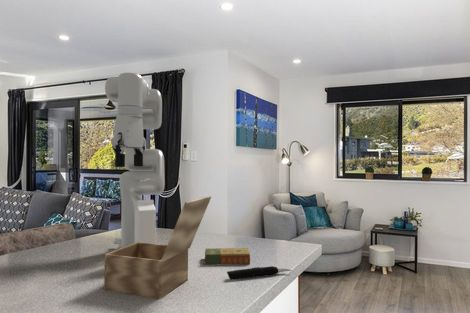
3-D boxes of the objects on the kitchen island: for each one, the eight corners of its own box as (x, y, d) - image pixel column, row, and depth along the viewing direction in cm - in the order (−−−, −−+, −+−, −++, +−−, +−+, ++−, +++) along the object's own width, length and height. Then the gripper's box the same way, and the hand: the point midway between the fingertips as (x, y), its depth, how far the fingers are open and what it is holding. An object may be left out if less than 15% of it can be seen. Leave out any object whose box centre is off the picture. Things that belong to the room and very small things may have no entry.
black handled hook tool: (287, 272, 123) (287, 263, 123) (293, 275, 119) (293, 266, 119) (225, 278, 115) (226, 269, 115) (230, 283, 112) (230, 273, 112)
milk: (155, 263, 131) (156, 200, 131) (138, 265, 128) (139, 201, 128) (150, 258, 136) (151, 198, 136) (133, 260, 133) (134, 199, 133)
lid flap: (185, 201, 96) (187, 202, 96) (209, 195, 111) (211, 196, 111) (161, 260, 98) (162, 261, 98) (188, 246, 113) (189, 247, 113)
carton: (250, 265, 131) (250, 253, 130) (204, 265, 130) (204, 253, 129) (247, 258, 139) (247, 247, 139) (204, 259, 138) (204, 247, 138)
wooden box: (104, 290, 104) (104, 254, 104) (137, 273, 119) (137, 242, 119) (160, 298, 98) (161, 261, 98) (187, 280, 113) (188, 247, 113)
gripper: (135, 116, 127) (135, 165, 127) (102, 109, 111) (101, 167, 111) (154, 115, 125) (154, 166, 125) (123, 109, 109) (122, 167, 109)
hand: (129, 166), depth 118 cm, fingers open, 9 cm apart
